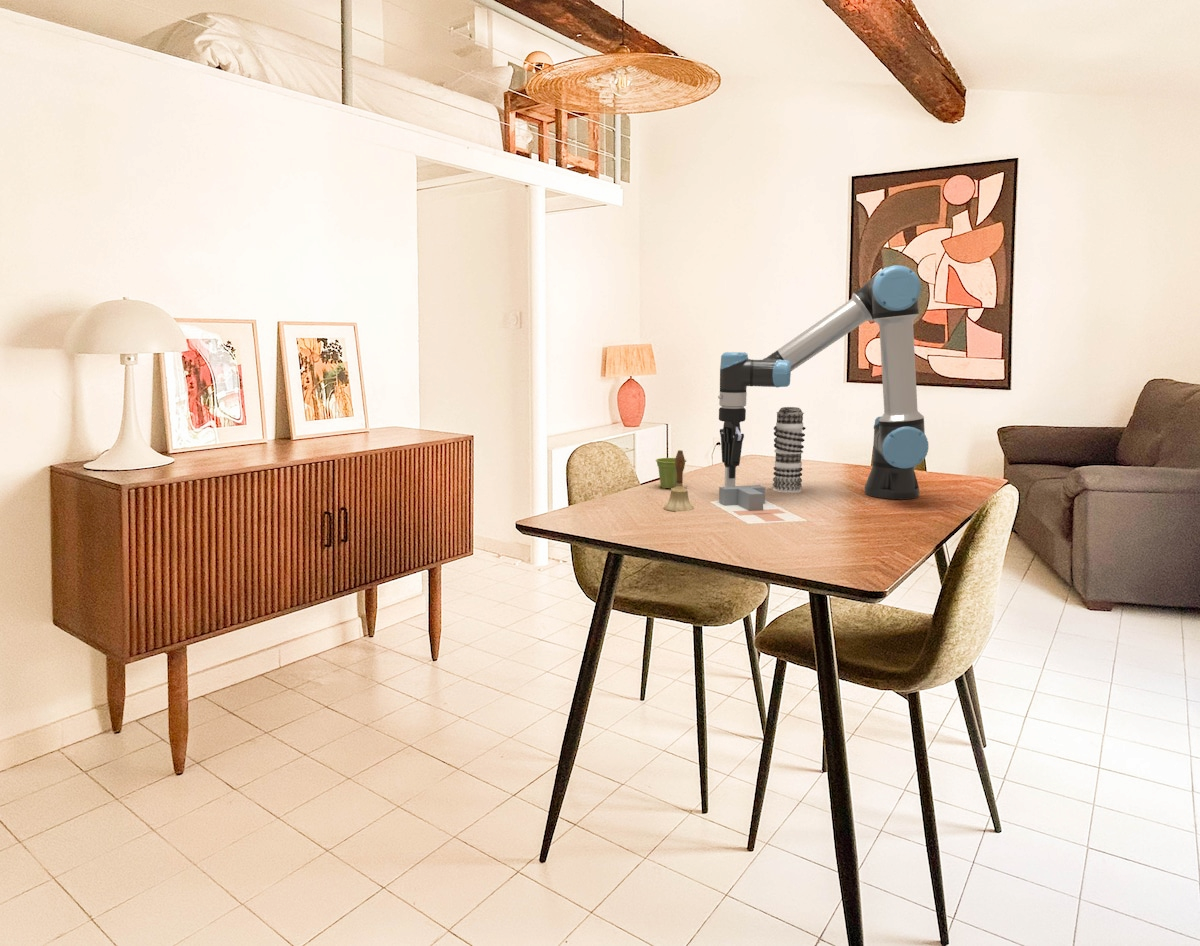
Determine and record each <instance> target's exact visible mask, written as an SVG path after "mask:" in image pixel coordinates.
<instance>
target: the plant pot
mask: <svg viewBox="0 0 1200 946" xmlns="http://www.w3.org/2000/svg"><path fill="white" fill-rule="evenodd" d="M675 459H676V457H660V458H656V459H655V462H656V463H657V467H658V474H659V475H658V476H659V482H660V488H661V487H662V489H664V488H666V489H670V488H674V487H676V481H677V472H676V468H675ZM684 459H685V463H686V462H687V459H686V458H684Z"/></svg>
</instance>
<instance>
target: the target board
mask: <svg viewBox="0 0 1200 946" xmlns="http://www.w3.org/2000/svg"><path fill="white" fill-rule="evenodd" d="M710 503H711V504H713V505H714V506H716V507H718V508H720V510H723V511H725V512H726V513H729V514H730V515H732V516H734V517H736V518H737V519H739V520H741V521H743V522H744V523H746V524H748V525H754V524H755V525H756V524H772V523H773V524H774V523H775V524H776V523H792V522H807V521H808V520H807V519H805V518H803V517H801V516H799V515H797V514H795V513H793V512H790V511H788V510H786V509H784V508H783V507H780V506H778V505H775V504H774V503H771V502H770V501H767V500H766V499H765V504H763V510H757V511H748V510H746V509H745V508H743V507H741V506H739V505H726V506H724V505H722V504H720V503H719V500H715V501H714V500H713V501H710Z"/></svg>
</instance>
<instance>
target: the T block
mask: <svg viewBox="0 0 1200 946" xmlns="http://www.w3.org/2000/svg"><path fill="white" fill-rule="evenodd" d="M718 489H719V490H718V501H719V503H720V504H722V505H724V506H726V505H739V506H741V507H743V508H745V509H746V510H748V511H757V510H763V504H765V500H766V487H764V486H763V485H760V484H759V485H757V484H756V485H735V486H729V487H724V486H719V487H718Z"/></svg>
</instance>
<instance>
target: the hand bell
mask: <svg viewBox="0 0 1200 946" xmlns="http://www.w3.org/2000/svg"><path fill="white" fill-rule="evenodd" d="M675 458H676V459H675V468H676V472H677V481H676V487H674V488H672V489H670V495H669V498H668V501H667V502H666V504H664V506H663V510H666V511H668V510H669V511H670V512H675V511H677V512H688V511H693V510H694V509H695V507H694V505H692V503H691V501H690V498H689V492H688V488H686V487H684V486H683V483H684V482H683V481H684V480H683V477H684V476H683V475H684V470H685V465H686V462H685V459H686V458H685V455H684V452H683V450H680V449H679V450H677V453H676V455H675ZM669 511H668V512H669Z"/></svg>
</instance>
